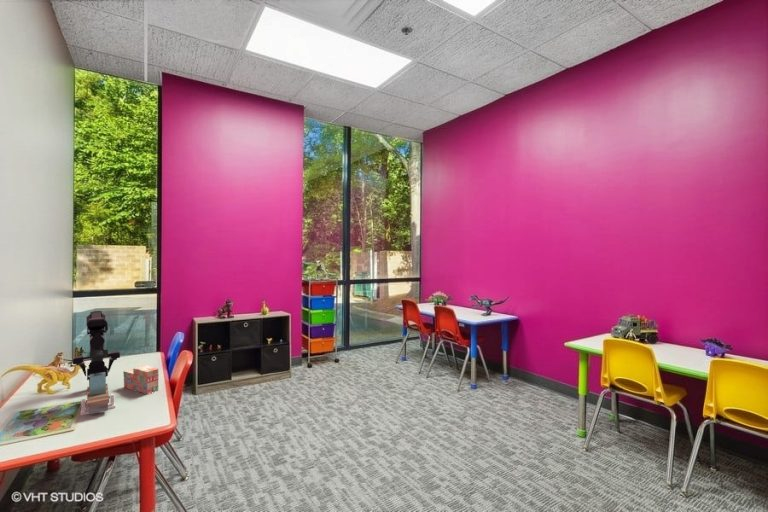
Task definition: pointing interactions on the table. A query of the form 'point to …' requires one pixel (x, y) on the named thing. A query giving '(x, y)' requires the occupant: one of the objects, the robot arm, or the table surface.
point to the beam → (97, 401)
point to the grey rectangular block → (97, 383)
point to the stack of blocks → (142, 379)
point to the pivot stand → (86, 411)
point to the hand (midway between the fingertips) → (97, 374)
